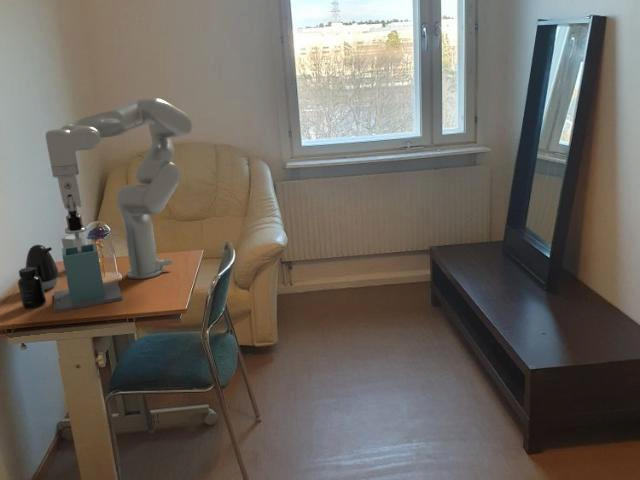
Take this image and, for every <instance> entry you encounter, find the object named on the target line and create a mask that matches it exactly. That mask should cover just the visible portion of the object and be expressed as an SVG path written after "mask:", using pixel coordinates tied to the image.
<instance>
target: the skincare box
mask: <svg viewBox="0 0 640 480" xmlns="http://www.w3.org/2000/svg"><path fill="white" fill-rule="evenodd" d="M79 238H80V244H81V245H84V244H83V239H82V236H79ZM61 242H62V247H63V248H69V247H75V246H77V244H76V239H75V235H72V234H69V235H68V236H65V237H62V238H61Z"/></svg>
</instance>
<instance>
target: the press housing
mask: <svg viewBox="0 0 640 480" xmlns="http://www.w3.org/2000/svg"><path fill="white" fill-rule="evenodd" d="M81 249H82V253H79V254H78V250H77V246H75V247H69V248H61V253H62V260H63V265H64V270H65V271H64V272H65V277H66V283H67V287H68V289H64V290H58V291H54V292H53V293H54V295H53V296H54V297H53V298H54V300H53V301H54V303H53V304H54V313H55V314H56V313H60V312H65V311H70V310H71V311H72V310H76V309H81V308H88V307H91V306H97V305H102V304H107V303H112V302H118V301H123V295H122V291H121V288H120V285H119V282H118V280H113V281H107V282H108V283H107V282H104V281H103V276H102V270H101V264H100V257H99V251H98V248H97V244H96V243H95V242H94V243H88V244H83V245H81Z"/></svg>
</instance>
